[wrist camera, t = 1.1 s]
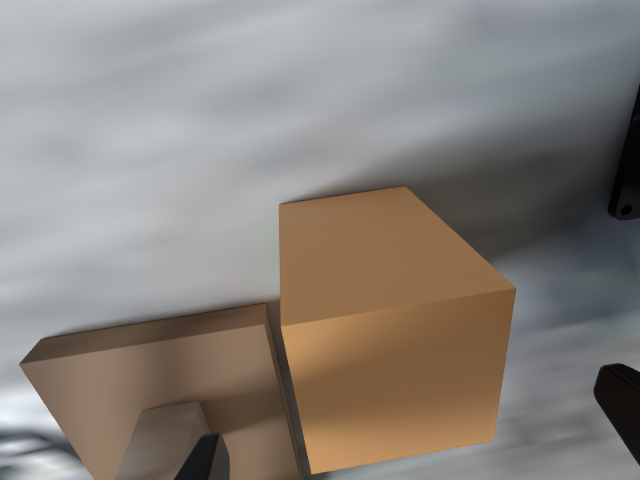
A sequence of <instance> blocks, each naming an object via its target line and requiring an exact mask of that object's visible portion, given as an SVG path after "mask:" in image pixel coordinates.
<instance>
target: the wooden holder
mask: <svg viewBox="0 0 640 480" xmlns="http://www.w3.org/2000/svg"><path fill="white" fill-rule="evenodd" d="M19 365H20V367H21V368H22V370H23V371H24V373H25V375H26V376H27V378H28V379H29V381H30V382H31V384H32V385H33V387H34V388H35V390H36V391H37V393H38V394H39V396H40V397H41V399H42V400H43V402H44V404H45V405H46V407H47V408H48V410H49V411H50V413H51V414H52V416H53V417H54V419H55V420H56V422H57V423H58V425H59V426H60V428H61V429H62V431H63V433H64V434H65V436H66V437H67V439H68V440H69V442H70V443H71V445H72V446H73V448H74V449H75V451H76V452H77V454H78V455H79V457H80V458H81V460H82V462H83V463H84V465H85V466H86V468H87V469H88V471H89V472H90V474H91V475H92V477H93V478H94V480H173V479H174V478H175V476H176V475H177V473H178V471H179V470H180V468H181V467H182V465H183V464H184V462H185V460H186V459H187V457H188V456H189V454H190V453H191V451H192V449H193V448H194V446H195V445H196V443H197V441H198V440H199V438H200V437H201V436H202V435H204V434H208V433H214V432H220V433H221V434H222V436H223V439H224V441H225V444H226V447H227V450H228V453H229V457H230V480H305V479H304V474H303V470H302V466H301V461H300V457H299V452H298V448H297V443H296V439H295V434H294V430H293V426H292V421H291V417H290V412H289V408H288V403H287V399H286V394H285V390H284V385H283V381H282V377H281V372H280V368H279V363H278V359H277V354H276V350H275V345H274V341H273V337H272V332H271V328H270V323H269V319H268V314H267V310H266V305H265V303H264V304H258V305H252V306H245V307H239V308H233V309H227V310H221V311H214V312H208V313H202V314H196V315H189V316H183V317H177V318H171V319H164V320H158V321H152V322H146V323H140V324H133V325H127V326H121V327H115V328H108V329H102V330H96V331H90V332H83V333H77V334H71V335H65V336H59V337H52V338H46V339H41V340H40V341H39V342H38V343H37V344H36V345H35V346H34V348H33V349H32V350H31V351H30V352H29V353H28V354H27V356H26V357H25V358H24V359H23V360H22V361H21V363H20V364H19Z"/></svg>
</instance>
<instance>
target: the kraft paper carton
mask: <svg viewBox="0 0 640 480" xmlns="http://www.w3.org/2000/svg"><path fill="white" fill-rule="evenodd" d="M279 249H280V309H281V330H282V335H283V340H284V344H285V349H286V354H287V359H288V364H289V368H290V373H291V378H292V383H293V388H294V392H295V397H296V402H297V407H298V412H299V416H300V421H301V426H302V431H303V436H304V440H305V445H306V450H307V455H308V460H309V464H310V469H311V474H317V473H322V472H327V471H333V470H338V469H344V468H349V467H355V466H360V465H365V464H371V463H376V462H382V461H387V460H393V459H398V458H403V457H409V456H414V455H420V454H425V453H431V452H436V451H441V450H447V449H452V448H458V447H463V446H469V445H474V444H479V443H485V442H490V441H493V440H494V433H495V427H496V420H497V413H498V406H499V400H500V393H501V386H502V380H503V373H504V366H505V360H506V353H507V346H508V340H509V333H510V326H511V320H512V313H513V306H514V299H515V293H516V287H515V286H514V285H512V284H511V283H510V282H509V281H508V280H507V279H506V278H505V277H504V276H503V275H502V274H500V273H499V272H498V271H497V270H496V269H495V268H494V267H493V266H492V265H491V264H490V263H488V262H487V261H486V260H485V259H484V258H483V257H482V256H481V255H480V254H479V253H478V252H476V251H475V250H474V249H473V248H472V247H471V246H470V245H469V244H468V243H467V242H466V241H464V240H463V239H462V238H461V237H460V236H459V235H458V234H457V233H456V232H455V231H454V230H452V229H451V228H450V227H449V226H448V225H447V224H446V223H445V222H444V221H443V220H442V219H440V218H439V217H438V216H437V215H436V214H435V213H434V212H433V211H432V210H431V209H430V208H429V207H427V206H426V205H425V204H424V203H423V202H422V201H421V200H420V199H419V198H418V197H417V196H415V195H414V194H413V193H412V192H411V191H410V190H409V189H408V188H407V187H406V186H402V187H395V188H388V189H381V190H375V191H368V192H361V193H354V194H348V195H341V196H334V197H327V198H320V199H314V200H307V201H300V202H293V203H287V204H280V205H279Z"/></svg>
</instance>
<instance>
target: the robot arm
mask: <svg viewBox="0 0 640 480" xmlns="http://www.w3.org/2000/svg"><path fill="white" fill-rule="evenodd" d="M622 208H623V209H622ZM608 213H609V215H610V216H612V217H614V218H616V219H618V220H629V219H635V218H640V85H639V89H638V93H637V97H636V101H635V105H634V109H633V113H632V117H631V121H630V125H629V128H628V132H627V136H626V140H625V144H624V148H623V152H622V156H621V160H620V164H619V168H618V172H617V176H616V179H615V183H614V187H613V191H612V195H611V199H610V203H609V207H608ZM593 391H594V396H595V398H596V400H597V402H598V404H599V405H600V407H601V408H602V410H603V411H604V413H605V414H606V416H607V417H608V419H609V420H610V422H611V423H612V425H613V426H614V428H615V430H616V431H617V433H618V434H619V436H620V437H621V439H622V440H623V442H624V443H625V445H626V446H627V448H628V449H629V451H630V452H631V454H632V455H633V457H634V458H635V460H636V461H637V463H638V464H639V466H640V372H639V371H637V370H635V369H633V368H631V367H628V366H626V365H624V364H619V363H616V364H610V365H604V366H602V367H601V368H600V370H599V373H598V376H597V379H596V383H595V386H594V390H593ZM173 480H230V457H229V453H228V450H227V447H226V444H225V441H224V439H223V436H222V434H221V433H220V432H214V433H208V434H204V435H202V436H201V437H200V438H199V440H198V441H197V443H196V445H195V446H194V448H193V449H192V451H191V453H190V454H189V456H188V457H187V459H186V460H185V462H184V464H183V465H182V467H181V468H180V470H179V471H178V473H177V475H176V476H175V478H174V479H173Z"/></svg>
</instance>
